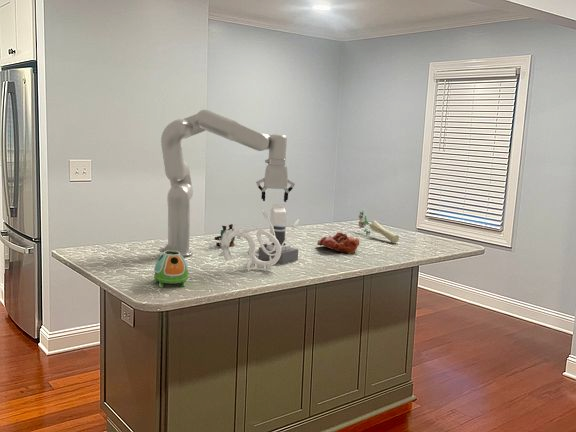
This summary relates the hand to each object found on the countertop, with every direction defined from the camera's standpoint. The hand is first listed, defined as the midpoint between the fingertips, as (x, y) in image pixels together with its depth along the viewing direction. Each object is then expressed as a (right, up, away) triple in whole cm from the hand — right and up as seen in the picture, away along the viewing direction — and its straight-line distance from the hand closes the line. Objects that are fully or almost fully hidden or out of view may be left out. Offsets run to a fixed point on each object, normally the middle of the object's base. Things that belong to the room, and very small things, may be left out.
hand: (274, 201), depth 254 cm
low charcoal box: (+2, -26, +2) cm, 26 cm away
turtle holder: (-38, -32, -42) cm, 65 cm away
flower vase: (+55, -19, +63) cm, 86 cm away
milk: (+1, -23, +21) cm, 31 cm away
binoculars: (-25, -21, +25) cm, 42 cm away
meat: (+31, -24, +28) cm, 48 cm away
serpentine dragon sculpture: (-6, -28, -12) cm, 32 cm away
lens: (+2, -21, +1) cm, 21 cm away
